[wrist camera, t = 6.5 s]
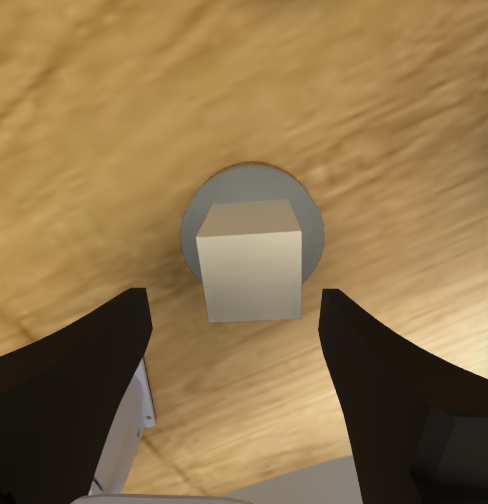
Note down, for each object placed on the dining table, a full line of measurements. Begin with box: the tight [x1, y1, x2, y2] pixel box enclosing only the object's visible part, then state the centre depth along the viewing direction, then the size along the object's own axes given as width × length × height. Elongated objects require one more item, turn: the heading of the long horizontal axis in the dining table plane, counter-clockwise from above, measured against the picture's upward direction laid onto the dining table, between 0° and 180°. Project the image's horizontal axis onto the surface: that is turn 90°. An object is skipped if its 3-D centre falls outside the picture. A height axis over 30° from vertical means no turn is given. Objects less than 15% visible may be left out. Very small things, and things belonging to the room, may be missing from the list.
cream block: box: [196, 199, 302, 323], centre depth 16 cm, size 4×4×6 cm
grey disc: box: [181, 161, 324, 284], centre depth 20 cm, size 9×9×4 cm
